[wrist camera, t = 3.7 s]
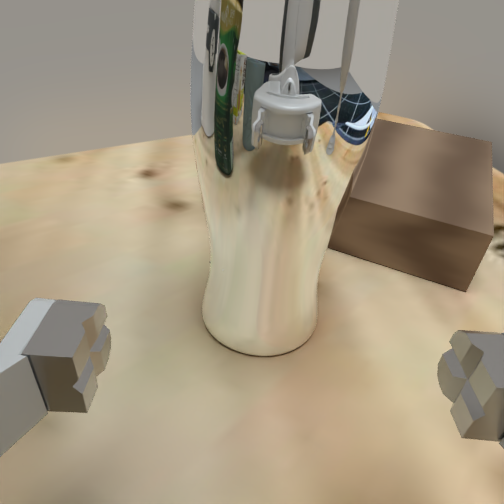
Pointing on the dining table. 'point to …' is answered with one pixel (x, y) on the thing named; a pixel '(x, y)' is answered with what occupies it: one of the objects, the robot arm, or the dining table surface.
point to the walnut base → (421, 204)
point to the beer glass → (280, 151)
